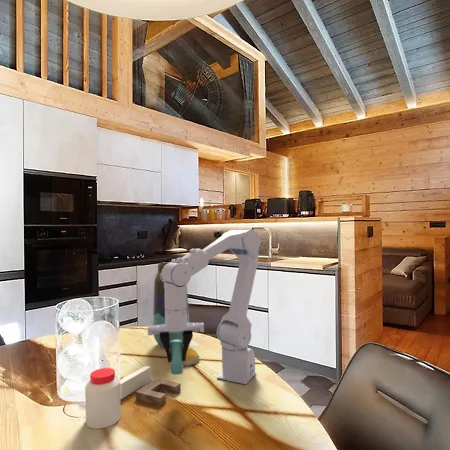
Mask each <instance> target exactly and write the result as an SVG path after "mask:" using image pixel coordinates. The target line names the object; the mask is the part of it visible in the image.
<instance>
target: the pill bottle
mask: <svg viewBox="0 0 450 450" xmlns="http://www.w3.org/2000/svg"><path fill="white" fill-rule="evenodd" d="M115 373H116V370H115V369H114V368H111V367H110V368H109V367H105V368H104V367H103V368H99V369H96V370H93V371H92V372H90V374H89V379H90V380H89V381H88V382H87V383H86V384H85V387H84V391H85V392H84V395H85V425H86V426H87V427H88V428H90V429H96V430H97V429H98V430H100V429H105V428H108V427H111V426H113V425H115V424H116V423H117V422H119V421H120V419H121V411H122V410H121V399H120V380H121V379H119V378H118V377H117V376H116V374H115Z"/></svg>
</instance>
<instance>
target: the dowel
mask: <svg viewBox="0 0 450 450" xmlns="http://www.w3.org/2000/svg"><path fill="white" fill-rule="evenodd" d="M170 357H171V362H170V374H172V375H181V374H183V373H184V365H183V345H182V340H172V341H170Z"/></svg>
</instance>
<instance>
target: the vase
mask: <svg viewBox="0 0 450 450" xmlns="http://www.w3.org/2000/svg"><path fill="white" fill-rule="evenodd" d="M175 262H176V261H169V262H160V263H158V264H157V273H156V276H155V278H154V282H153V305H152V326H154V325H160V324H165V288H164V283H163V281H162V280H161V278H160V273H162V269H163V268H164V266H165V265H166V264H168V263H175ZM186 294H187V322H189V323H190V316H189V315H190V312H189V310H190V309H189V298H188V297H189V295H188V284H186ZM153 338H154V341H155V342H156V343H157V345H158V346H160V347H162V348H164V346H163V344H162V342H161V340H160V334H153ZM169 338H170V341H172V340H182V345H183V332H181V333H169Z"/></svg>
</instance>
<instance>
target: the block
mask: <svg viewBox="0 0 450 450" xmlns="http://www.w3.org/2000/svg"><path fill="white" fill-rule="evenodd" d="M161 391H162V392H161ZM163 392H165V393H163ZM180 392H181V383H180V382H175V381H172V380H167V379H163V378H159V377H156V378H155V379H154V380H151V381H150V382H148V383H146V384H145V385H143V386H142V387H140V388H139V389H137V390H135V400H137V401H141V402H145V403H148V404H151V405H155V406H159V407H161V406H162V405H163V404H165V403H166V401H167V400H166V398H167V395H166V394H167V393H169V394H173V395H177V394H178V393H180Z"/></svg>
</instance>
